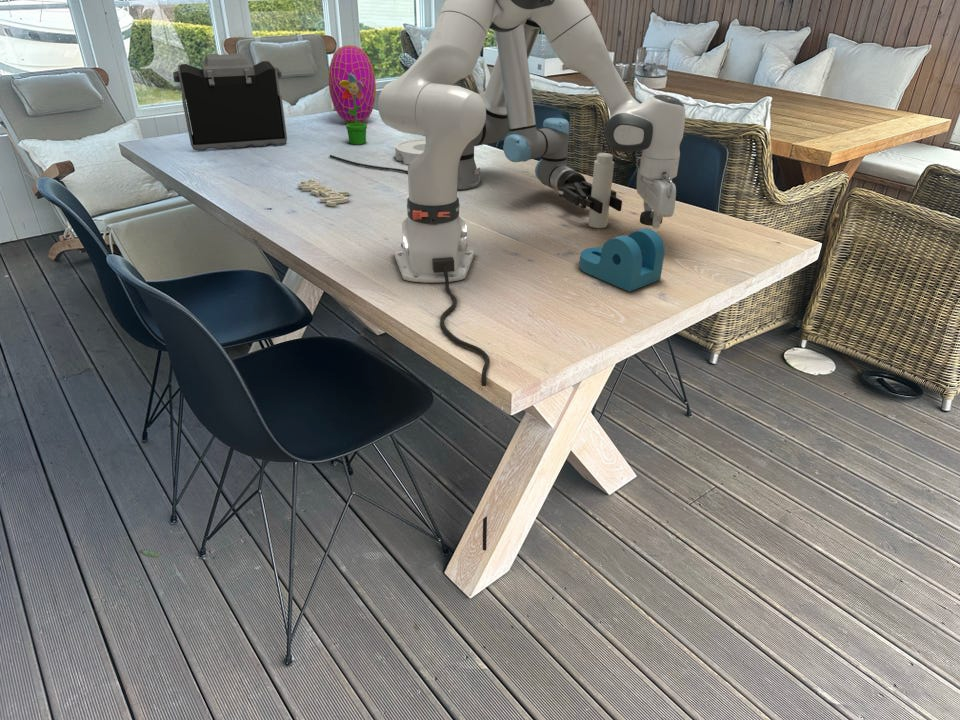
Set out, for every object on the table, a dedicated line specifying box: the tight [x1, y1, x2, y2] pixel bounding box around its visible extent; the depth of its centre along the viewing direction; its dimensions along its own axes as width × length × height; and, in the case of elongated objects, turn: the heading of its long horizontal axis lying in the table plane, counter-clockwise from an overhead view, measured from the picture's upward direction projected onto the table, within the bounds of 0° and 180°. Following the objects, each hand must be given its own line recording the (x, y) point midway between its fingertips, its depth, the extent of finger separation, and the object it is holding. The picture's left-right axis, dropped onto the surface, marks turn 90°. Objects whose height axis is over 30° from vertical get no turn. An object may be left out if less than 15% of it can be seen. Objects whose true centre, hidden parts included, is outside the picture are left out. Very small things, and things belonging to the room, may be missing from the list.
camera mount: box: [578, 228, 665, 292], centre depth 154 cm, size 18×10×10 cm, turn 39°
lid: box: [639, 210, 664, 227], centre depth 172 cm, size 6×6×2 cm
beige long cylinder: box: [587, 152, 615, 229], centre depth 180 cm, size 5×5×19 cm
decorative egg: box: [328, 44, 377, 124], centre depth 286 cm, size 19×19×30 cm
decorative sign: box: [297, 178, 350, 207], centre depth 206 cm, size 26×1×10 cm
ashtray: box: [394, 138, 426, 166], centre depth 243 cm, size 23×23×4 cm
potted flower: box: [339, 73, 368, 145], centre depth 255 cm, size 9×8×25 cm
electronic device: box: [172, 52, 288, 152], centre depth 253 cm, size 37×22×30 cm, turn 111°
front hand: (651, 222), depth 172 cm, fingers closed on lid, 5 cm apart
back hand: (610, 207), depth 177 cm, fingers closed on beige long cylinder, 5 cm apart
